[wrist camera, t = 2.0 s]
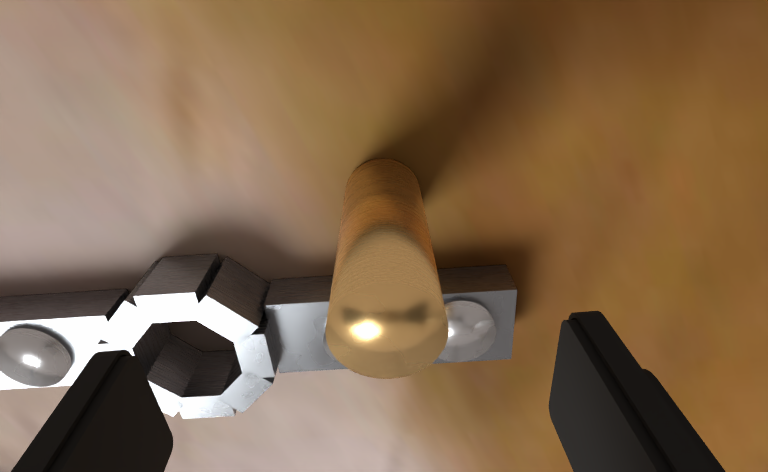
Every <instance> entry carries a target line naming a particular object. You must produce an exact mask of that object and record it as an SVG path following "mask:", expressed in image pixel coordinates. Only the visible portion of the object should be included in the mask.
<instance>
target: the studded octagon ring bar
mask: <svg viewBox="0 0 768 472" xmlns="http://www.w3.org/2000/svg"><path fill="white" fill-rule="evenodd" d="M437 272H438V277H439V282H440V286H441V291H442V296H443V301H444V306H445V310H446V315H447V320H448V326H449V335H448V340H447V343H446V345H445V348H444V350H443V351H442V353H441V354H440V355H439V357H438V358H437V359H436V360H435V361H434V362H433V363H432V364H434V363H451V362H467V361H484V360H501V359H511V354H512V343H513V332H514V320H515V309H516V298H517V288H516V286H515V284H514V281H513V279H512V277H511V275H510V273H509V271H508V268H507V266H506V265H493V266H477V267H462V268H446V269H437ZM332 280H333V276H321V277H306V278H290V279H274V280H272V283H271V284H269V283H268V282H266V281H264V280H263V279H261V278H260V277H258V276H257V275H255V274H254V273H252V272H250V271H249V270H247V269H246V268H244V267H243V266H241V265H240V264H238V263H237V262H235V261H233V260H232V259H230V258H229V257H226V258H225V259H224V261H223V262H222V263H221V264H220V262H219V258H218V255H217V254H206V255H191V256H175V257H163V258H162V259H161V261H160V262H159V263H158V262H156V261H155V262H154V264H153V265H152V266H151V267H150V269H149V270H148V271H147V272H146V274H145V275H144V276H143V278H142V279H141V280H140V281H139V283H138V284H137V285H136V286H135V288H134V289H133V290H132V292H131V293H130V294H128V292H127V289H118V290H103V291H87V292H72V293H56V294H40V295H25V296H9V297H0V390H3V389H20V388H36V387H53V386H69V385H72V384H73V383H74V381H75V380H76V378H77V377H78V376H79V374H80V373H81V371H82V370H83V368H84V367H85V366H86V364H87V363H88V361H89V360H90V358H91V357H92V356H93V355H94V354H95V353H97V352H101V351H113V350H127V351H129V352H130V354H131V355H132V356H136V357H138V359H139V361H140V363H141V365H142V368H143V370H144V372H145V374H146V377H147V379H148V381H149V383H150V386H151V388H152V390H153V392H154V395H155V397H156V399H157V402H158V404H159V406H160V408H161V411H162V412H164V413H166V414H168V415H170V416H172V417H173V416H174V415H175V414H176V413H177V412H178V411H180V414H181V416H182V419H190V418H207V417H224V416H235V413H236V410H238V411H240V412H242V413H243V412H244V411H245V410H246V409H247V408H248V407H249V406H250V405H251V404H252V403H253V402H254V401H255V400H256V399H257V398H258V397H260V396H261V395H262V394H263V393H264V392H265V391H266V390H267V389H268V388H269V387H270V386H271V385H272V384H273V381H274V377H275V375H276V371H277V367H278V368H279V372H280V373H285V372H302V371H318V370H335V369H348V368H347V367H345V366H344V365H342V364H341V363H340V362H339V361H338V360H337V359H336V358H335V357H334V355H333V354H332V352H331V351H330V349H329V346H328V344H327V340H326V334H325V330H326V321H327V314H328V307H329V300H330V294H331V287H332ZM195 320H196V321H197V322H199V323H201V324H203V325H204V326H206V327H208V328H210V329H211V330H213V331H215V332H216V333H218V334H220V335H222V336H223V337H225V338H227V339H229V340H230V341H232V342H233V343H234V346H235V350H230V351H213V352H202V351H200V350H198V349H196V348H194V347H193V346H191V345H189V344H187V343H185V342H184V341H182V340H180V339H178V338H176V337H175V336H173V335H171V333H170V330H169V328H168V325H167V322H179V321H195Z"/></svg>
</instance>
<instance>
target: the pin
mask: <svg viewBox="0 0 768 472" xmlns="http://www.w3.org/2000/svg"><path fill="white" fill-rule="evenodd" d="M325 334H326V340H327V344H328V346H329V349H330V351H331V352H332V354H333V355H334V357H335V358H336V359H337V360H338V361H339V362H340V363H341V364H342V365H344V366H345V367H347V368H348V369H350V370H352V371H354V372H356V373H358V374H361V375H364V376H367V377H372V378H380V379H392V378H400V377H405V376H408V375H412V374H414V373H417V372H419V371H421V370H423V369H424V368H426V367H428V366H429V365H430V364H432V363H433V362H434V361H435V360H436V359H437V358H438V357H439V355H440V354H441V353H442V351H443V350H444V348H445V345H446V343H447V340H448V335H449V326H448V320H447V315H446V310H445V306H444V301H443V296H442V291H441V286H440V282H439V277H438V272H437V267H436V263H435V258H434V253H433V248H432V244H431V239H430V234H429V229H428V224H427V220H426V215H425V210H424V205H423V201H422V196H421V191H420V186H419V183H418V180H417V178H416V176H415V174H414V173H413V172H412V171H411V170H410V169H409V168H408V167H407V166H406V165H404V164H402V163H401V162H398V161H396V160H392V159H385V158H383V159H374V160H370V161H368V162H365V163H364V164H362V165H360V166H359V167H358V168H357V169H356V170H355V171H354V172H353V173H352V174H351V176H350V178H349V180H348V182H347V186H346V191H345V198H344V205H343V212H342V218H341V225H340V232H339V239H338V246H337V253H336V259H335V266H334V273H333V280H332V287H331V294H330V300H329V307H328V314H327V321H326V330H325Z"/></svg>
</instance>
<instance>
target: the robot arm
mask: <svg viewBox="0 0 768 472" xmlns="http://www.w3.org/2000/svg"><path fill="white" fill-rule="evenodd" d="M549 412H550V417H551V420H552V422H553V425H554V427H555V429H556V432H557V434H558V436H559V439H560V441H561V443H562V446H563V448H564V450H565V452H566V455H567V457H568V459H569V462H570V464H571V466H572V469H573V471H574V472H725V470H724V469H723V468H722V466H721V465H720V463H719V462H718V461H717V459H716V458H715V457H714V455H713V454H712V453H711V451H710V450H709V449H708V447H707V446H706V445H705V443H704V442H703V440H702V439H701V438H700V436H699V435H698V434H697V432H696V431H695V430H694V428H693V427H692V426H691V424H690V423H689V421H688V420H687V419H686V417H685V416H684V415H683V413H682V412H681V411H680V409H679V408H678V407H677V405H676V404H675V402H674V401H673V400H672V398H671V397H670V396H669V394H668V393H667V392H666V390H665V389H664V388H663V386H662V385H661V383H660V382H659V381H658V379H657V378H656V377H655V376H654V375H653V374H652V373H651V372H650V371H648V370H646V369H642V368H641V367H640V365H639V364H638V363H637V361H636V360H635V358H634V357H633V356H632V354H631V353H630V352H629V350H628V349H627V347H626V346H625V345H624V343H623V342H622V340H621V339H620V338H619V336H618V335H617V333H616V332H615V331H614V329H613V328H612V326H611V325H610V324H609V322H608V321H607V319H606V318H605V317H604V315H603V314H602V313H601V312H599V311H589V312H577V313H571V315H570V316H569V320H564V321H563V322H562V324H561V330H560V336H559V342H558V349H557V355H556V361H555V368H554V374H553V381H552V387H551V393H550V400H549ZM172 448H173V436H172V433H171V431H170V429H169V426H168V424H167V422H166V420H165V417H164V415H163V413H162V411H161V408H160V406H159V404H158V402H157V399H156V397H155V395H154V392H153V390H152V388H151V386H150V383H149V381H148V379H147V377H146V374H145V372H144V370H143V368H142V365H141V363H140V361H139V359H138V357H136V356H132V355H131V354H130V352H129V351H127V350H113V351H101V352H97V353H95V354H94V355H93V356H92V357H91V358H90V360H89V361H88V363H87V364H86V366H85V367H84V368H83V370H82V371H81V373H80V374H79V376H78V377H77V378H76V380H75V381H74V383H73V384H72V386H71V387H70V388H69V390H68V391H67V393H66V394H65V396H64V397H63V398H62V400H61V401H60V403H59V404H58V406H57V407H56V408H55V410H54V411H53V413H52V414H51V415H50V417H49V418H48V420H47V421H46V423H45V424H44V425H43V427H42V428H41V430H40V431H39V433H38V434H37V435H36V437H35V438H34V440H33V441H32V443H31V444H30V445H29V447H28V448H27V450H26V451H25V453H24V454H23V455H22V457H21V458H20V460H19V461H18V463H17V464H16V465H15V467H14V468H13V470H12V471H11V472H164V470H165V467H166V465H167V462H168V460H169V457H170V455H171V452H172Z"/></svg>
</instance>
